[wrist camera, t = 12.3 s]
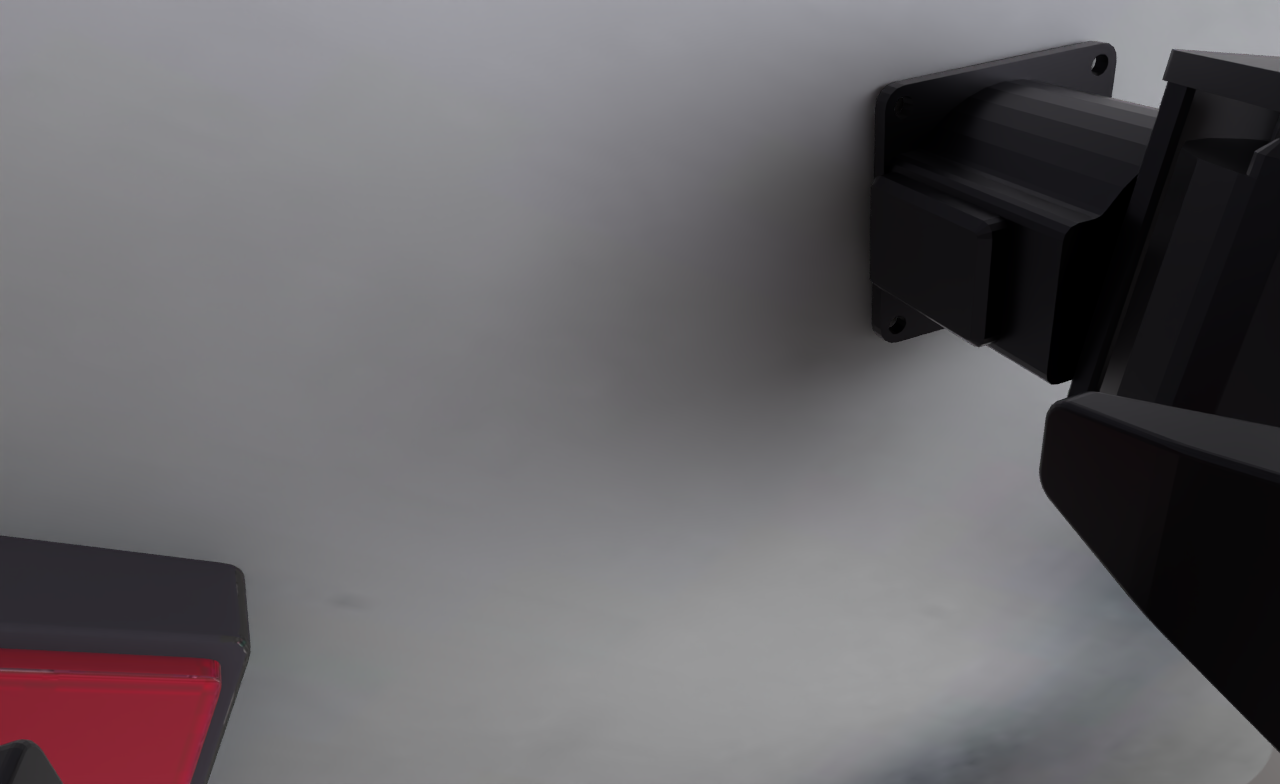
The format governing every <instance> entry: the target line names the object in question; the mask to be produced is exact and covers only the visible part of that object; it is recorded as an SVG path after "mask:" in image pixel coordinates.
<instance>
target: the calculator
mask: <svg viewBox="0 0 1280 784" xmlns="http://www.w3.org/2000/svg"><path fill="white" fill-rule="evenodd" d="M249 656H250V635H249V623H248V611H247V600H246V589H245V579H244V574H243V573H242V571H241V570H240V569H239V568H237V567H235V566H233V565H230V564H224V563H218V562H210V561H202V560H194V559H186V558H178V557H170V556H162V555H154V554H146V553H138V552H130V551H122V550H113V549H105V548H97V547H89V546H81V545H73V544H65V543H56V542H48V541H40V540H32V539H24V538H16V537H7V536H0V745H3V744H6V743H10V742H13V741H16V740H20V739H25V740H31V741H33V742H34V743H36V744H37V745H38V746H39V747H40V748H41V749H42V751H43V752H44V754H45V755H46V757H47V758H48V760H49V762H50V763H51V765H52V766H53V768H54V769H55V771H56V773H57V774H58V776H59V777H60V779H61V781H62V782H63V784H207V783H208V780H209V777H210V774H211V771H212V768H213V765H214V762H215V759H216V756H217V753H218V750H219V747H220V744H221V741H222V738H223V735H224V732H225V729H226V726H227V723H228V720H229V717H230V714H231V711H232V708H233V705H234V702H235V699H236V696H237V693H238V690H239V687H240V684H241V681H242V678H243V675H244V672H245V669H246V666H247V664H248V660H249Z"/></svg>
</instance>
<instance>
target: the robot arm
mask: <svg viewBox="0 0 1280 784" xmlns="http://www.w3.org/2000/svg"><path fill="white" fill-rule="evenodd" d="M1095 58H1096V62H1095V66H1094V67H1093V69H1092V70H1091V66H1092V62H1093V60H1094V59H1095ZM1115 68H1116V51H1115V49H1114V47H1113V46H1112V45H1110V44H1109V43H1103V42H1097V41H1088V42H1084V43H1079V44H1074V45H1069V46H1064V47H1060V48H1055V49H1050V50H1045V51H1041V52H1036V53H1031V54H1026V55H1021V56H1017V57H1012V58H1007V59H1002V60H998V61H993V62H988V63H983V64H978V65H974V66H969V67H964V68H959V69H955V70H950V71H945V72H940V73H936V74H931V75H926V76H921V77H916V78H912V79H907V80H902V81H897V82H894V83H891V84H889V85H887V86H886V87H885V88H884V89H883V90H882V91H881V92H880V94H879V96H878V98H877V101H876V107H875V152H874V182H873V184H872V186H871V212H870V280H871V282H872V283H873V285H872V327H873V331H874V332H875V333H876V334H877V335H878V336H879V337H881V338H882V339H884V340H885V341H888V342H890V343H893V342H899V341H903V340H906V339H910V338H913V337H917V336H920V335H923V334H927V333H930V332H934V331H937V330H941V329H944V328H945V329H947V330H949V331H950V332H952V333H954V334H955V335H957V336H958V337H960V338H962V339H963V340H965V341H967V342H968V343H970V344H971V345H973V346H976V347H981V346H985V345H987V346H988V347H990V348H992V349H993V350H995V351H997V352H998V353H1000V354H1002V355H1003V356H1005V357H1007V358H1008V359H1010V360H1012V361H1013V362H1015V363H1017V364H1018V365H1020V366H1021V367H1023V368H1025V369H1026V370H1028V371H1030V372H1031V373H1033V374H1035V375H1036V376H1038V377H1040V378H1041V379H1043V380H1045V381H1046V382H1048V383H1050V384H1051V385H1052V384H1060V383H1063V382H1066V381H1069V380H1072V382H1071V385H1070V388H1069V392H1068V395H1067V398H1065V399H1062V400H1059V401H1057V402H1055V403H1054V404H1053V405H1051V407H1050V409H1049V410H1048V412H1047V415H1046V419H1045V427H1044V435H1043V443H1042V451H1041V459H1040V467H1039V476H1040V482H1041V485H1042V488H1043V490H1044V492H1045V494H1046V495H1047V497H1048V498H1049V499H1050V501H1051V502H1052V503H1053V504H1054V506H1055V507H1056V508H1057V509H1058V510H1059V512H1060V513H1061V514H1062V515H1063V517H1064V518H1065V519H1066V520H1067V522H1068V523H1069V524H1070V525H1071V526H1072V528H1073V529H1074V530H1075V531H1076V533H1077V534H1078V535H1079V536H1080V537H1081V539H1082V540H1083V541H1084V542H1085V544H1086V545H1087V546H1088V547H1089V548H1090V550H1091V551H1092V552H1093V553H1094V555H1095V556H1096V557H1097V558H1098V559H1099V561H1100V562H1101V563H1102V564H1103V566H1104V567H1105V568H1106V569H1107V570H1108V572H1109V573H1110V574H1111V575H1112V577H1113V578H1114V579H1115V580H1116V581H1117V583H1118V584H1119V585H1120V586H1121V588H1122V589H1123V590H1124V591H1125V592H1126V594H1127V595H1128V596H1129V597H1130V598H1131V600H1132V601H1133V602H1134V603H1135V604H1136V605H1137V607H1138V608H1139V609H1140V610H1141V611H1142V612H1143V614H1144V615H1145V616H1146V617H1147V618H1148V619H1149V620H1150V621H1151V622H1152V623H1153V624H1154V625H1155V627H1156V628H1157V629H1158V630H1159V631H1160V632H1161V633H1162V634H1163V635H1164V636H1165V637H1166V638H1167V639H1168V640H1169V641H1170V642H1171V643H1172V644H1173V645H1174V646H1175V647H1176V648H1177V649H1178V650H1179V651H1180V652H1181V653H1182V654H1183V655H1184V656H1185V657H1186V658H1187V659H1188V660H1189V661H1190V662H1191V663H1192V664H1193V665H1194V666H1195V667H1196V668H1197V669H1198V670H1199V671H1200V673H1201V674H1202V675H1203V676H1204V677H1205V678H1206V679H1207V680H1208V681H1209V682H1210V683H1211V684H1212V685H1213V686H1214V687H1215V688H1216V689H1217V690H1218V691H1219V692H1220V693H1221V694H1222V695H1223V696H1224V697H1225V698H1226V699H1227V700H1228V701H1229V702H1230V703H1231V704H1232V705H1233V706H1234V707H1235V708H1236V709H1237V710H1238V711H1239V712H1240V713H1241V714H1242V715H1243V716H1244V717H1245V718H1246V719H1247V720H1248V721H1249V722H1250V723H1251V724H1252V725H1253V726H1254V727H1255V728H1256V729H1257V730H1258V731H1259V732H1260V733H1261V734H1262V735H1263V736H1264V737H1265V738H1266V739H1267V740H1268V741H1269V742H1270V743H1271V745H1272V746H1273V747H1274V748H1275V749H1276V750H1277V751H1278V752H1279V753H1280V57H1276V56H1263V55H1249V54H1235V53H1221V52H1207V51H1194V50H1180V49H1172V51H1171V54H1170V57H1169V60H1168V64H1167V67H1166V70H1165V73H1164V76H1163V79H1162V80H1164V81H1168V83H1167V86H1166V89H1165V92H1164V95H1163V98H1162V101H1161V105H1160V108H1159V109H1157V108H1153V107H1149V106H1144V105H1140V104H1136V103H1131V102H1127V101H1123V100H1118V99H1114V98H1111V97H1112V90H1113V83H1114V75H1115ZM901 97H903V101H904V103H903V107H902V109H901V111H900V112H899V113H898V114H896V115H895V111H894V109H895V104H896V102H897V101H898V100H899V98H901ZM896 316H897V320H896V322H895V323H894V325H893V326H891V327H889V325H890V322H891V321H892V319H893V318H895V317H896ZM0 784H63V782H62V781H61V779H60V777H59V776H58V774H57V773H56V771H55V769H54V768H53V766H52V765H51V763H50V762H49V760H48V758H47V757H46V755H45V754H44V752H43V751H42V749H41V748H40V747H39V746H38V745H37V744H36V743H34V742H33V741H31V740H25V739H20V740H16V741H13V742H10V743H6V744H3V745H0Z"/></svg>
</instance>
